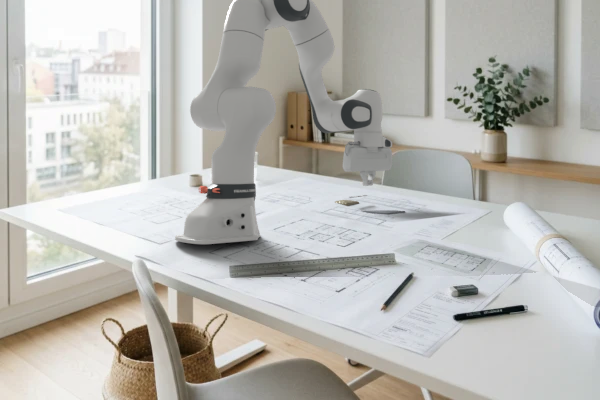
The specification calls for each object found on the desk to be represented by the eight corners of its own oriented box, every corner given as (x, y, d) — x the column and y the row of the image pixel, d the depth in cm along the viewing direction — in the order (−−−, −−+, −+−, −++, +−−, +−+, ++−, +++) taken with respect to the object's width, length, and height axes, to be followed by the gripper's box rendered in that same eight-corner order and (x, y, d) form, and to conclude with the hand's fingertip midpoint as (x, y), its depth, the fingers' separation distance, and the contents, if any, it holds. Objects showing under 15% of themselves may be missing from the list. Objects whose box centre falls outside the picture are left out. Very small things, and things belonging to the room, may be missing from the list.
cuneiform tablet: (352, 197, 191) (326, 196, 200) (352, 211, 192) (326, 209, 201) (367, 195, 196) (341, 194, 205) (367, 209, 196) (341, 207, 205)
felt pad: (386, 214, 181) (386, 213, 181) (360, 212, 188) (360, 210, 188) (405, 212, 187) (405, 211, 187) (379, 210, 194) (379, 208, 194)
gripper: (353, 141, 180) (353, 187, 181) (395, 142, 194) (395, 184, 195) (338, 141, 185) (338, 186, 186) (380, 142, 199) (380, 184, 200)
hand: (367, 185), depth 191 cm, fingers closed
